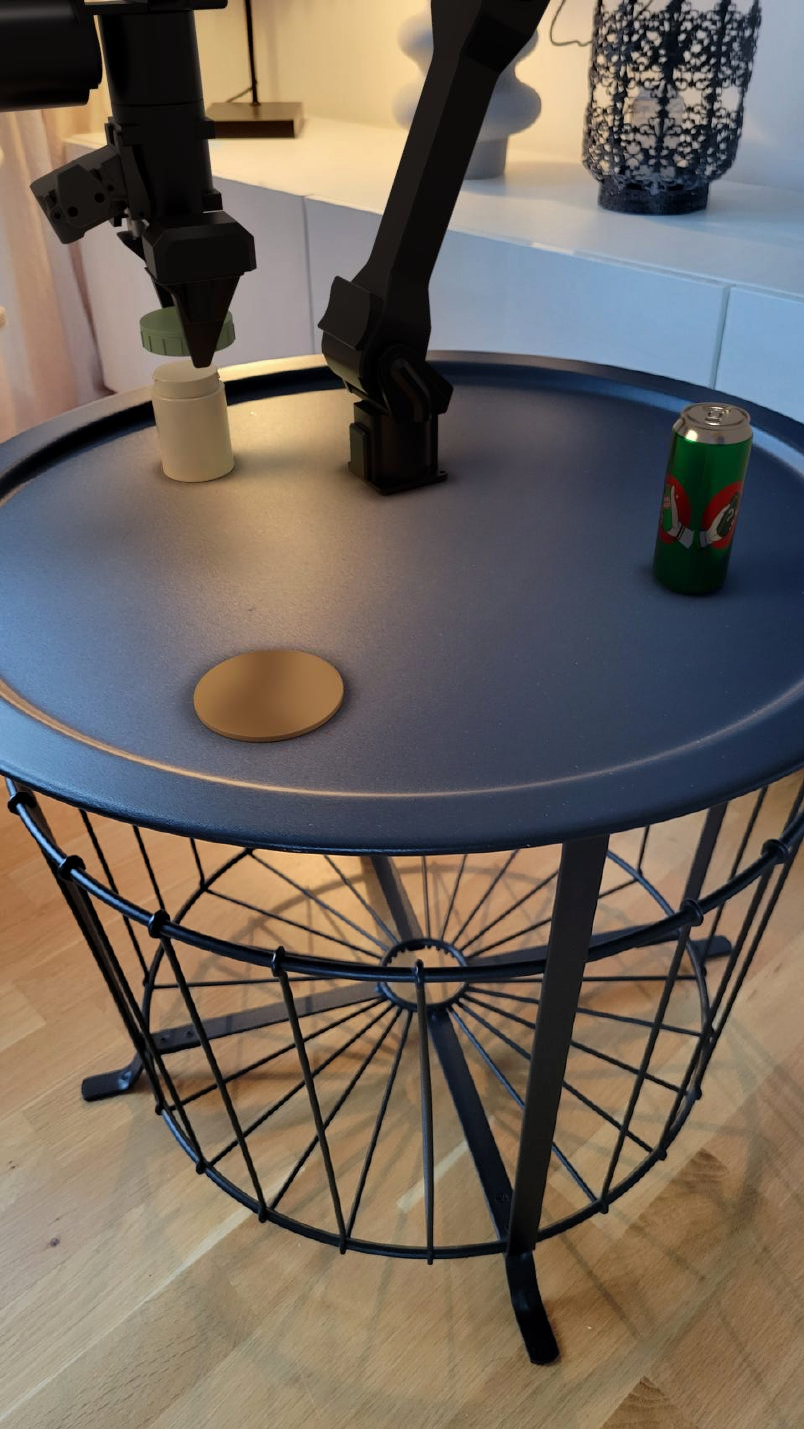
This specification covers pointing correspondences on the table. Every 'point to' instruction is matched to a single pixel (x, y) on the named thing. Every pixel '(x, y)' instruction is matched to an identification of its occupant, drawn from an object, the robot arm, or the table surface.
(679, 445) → the soda can
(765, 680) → the table surface
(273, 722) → the coaster
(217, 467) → the jar
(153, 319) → the lid
